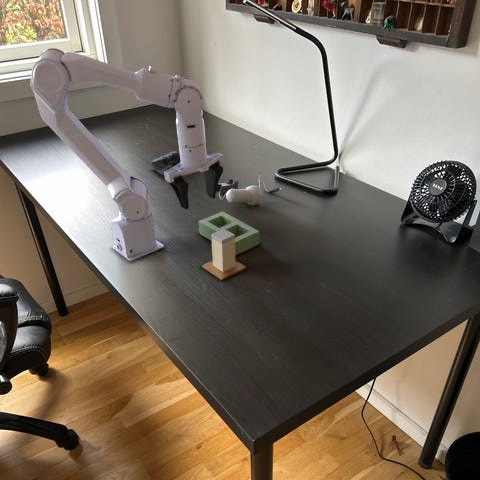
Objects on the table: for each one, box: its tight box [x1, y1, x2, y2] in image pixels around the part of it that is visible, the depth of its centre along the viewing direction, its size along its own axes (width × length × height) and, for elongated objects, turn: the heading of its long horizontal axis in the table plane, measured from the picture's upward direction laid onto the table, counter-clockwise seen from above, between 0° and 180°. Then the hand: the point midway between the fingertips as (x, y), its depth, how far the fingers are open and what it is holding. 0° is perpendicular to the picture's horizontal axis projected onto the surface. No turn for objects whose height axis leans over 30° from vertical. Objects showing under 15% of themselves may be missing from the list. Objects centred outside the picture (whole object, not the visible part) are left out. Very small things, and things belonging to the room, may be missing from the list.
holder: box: [198, 211, 260, 256], centre depth 119 cm, size 8×14×4 cm, turn 41°
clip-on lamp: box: [216, 174, 283, 206], centre depth 135 cm, size 12×6×18 cm
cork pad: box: [201, 259, 247, 281], centre depth 110 cm, size 7×7×1 cm
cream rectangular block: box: [211, 229, 236, 272], centre depth 107 cm, size 4×4×8 cm
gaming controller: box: [149, 151, 181, 177], centre depth 152 cm, size 12×8×5 cm, turn 143°
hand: (198, 202), depth 112 cm, fingers open, 7 cm apart
